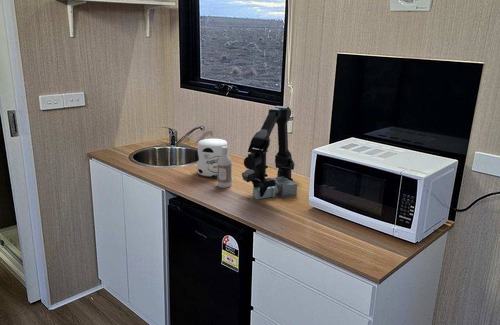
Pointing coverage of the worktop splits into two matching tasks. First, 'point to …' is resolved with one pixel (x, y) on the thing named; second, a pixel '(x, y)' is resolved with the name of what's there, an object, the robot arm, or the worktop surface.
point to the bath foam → (224, 169)
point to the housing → (285, 187)
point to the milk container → (209, 156)
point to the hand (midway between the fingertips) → (259, 195)
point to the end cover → (269, 192)
